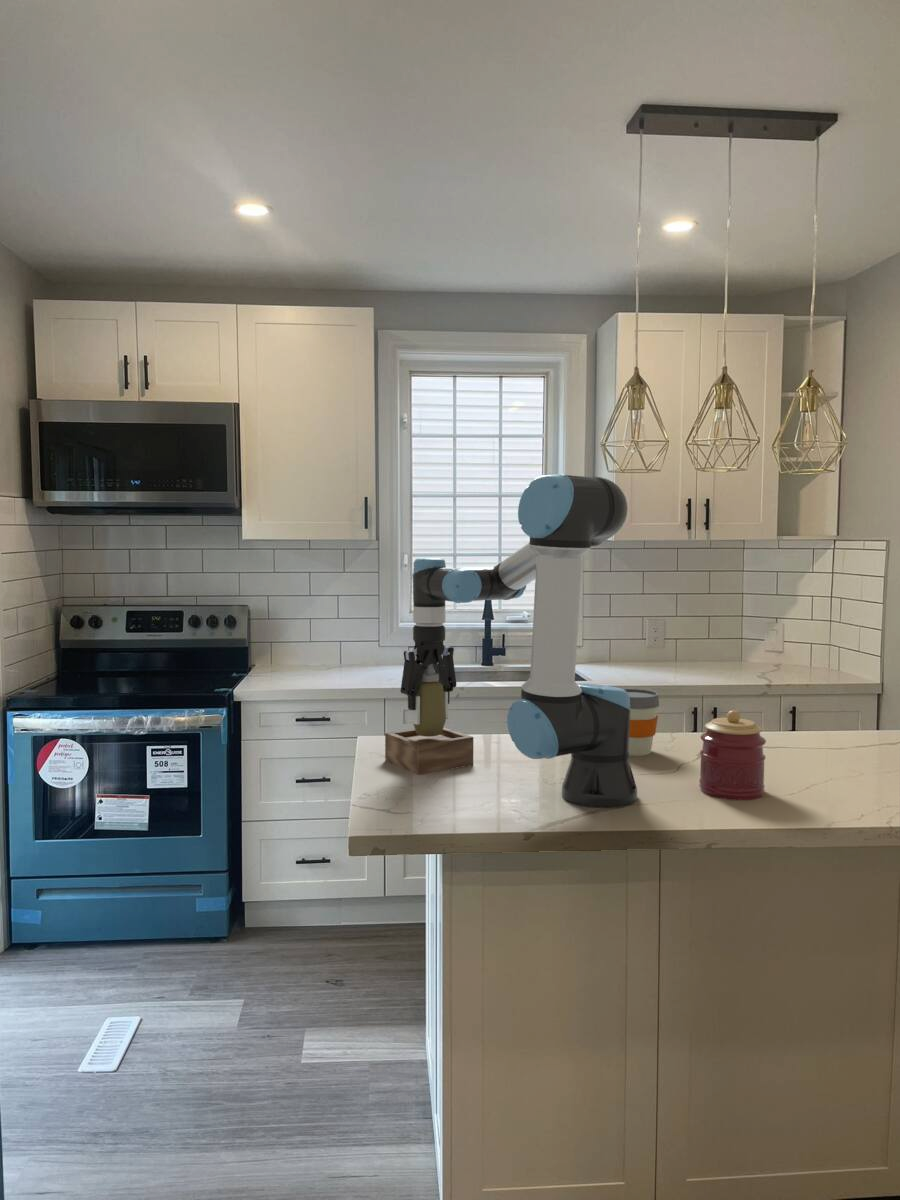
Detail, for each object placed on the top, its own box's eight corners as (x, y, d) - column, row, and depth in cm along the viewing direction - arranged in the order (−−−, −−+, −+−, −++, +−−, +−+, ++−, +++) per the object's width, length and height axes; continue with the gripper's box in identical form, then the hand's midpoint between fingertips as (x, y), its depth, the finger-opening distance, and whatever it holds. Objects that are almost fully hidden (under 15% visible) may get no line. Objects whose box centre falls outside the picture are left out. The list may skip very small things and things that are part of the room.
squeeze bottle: (445, 738, 201) (445, 660, 200) (410, 738, 201) (410, 660, 200) (446, 730, 209) (446, 656, 208) (412, 730, 209) (412, 655, 208)
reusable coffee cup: (595, 751, 218) (596, 691, 217) (630, 744, 225) (631, 686, 224) (633, 761, 208) (635, 699, 207) (668, 754, 215) (670, 694, 214)
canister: (775, 794, 182) (777, 710, 181) (746, 807, 173) (749, 719, 172) (717, 781, 191) (719, 702, 190) (687, 794, 182) (689, 710, 181)
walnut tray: (473, 767, 203) (473, 736, 203) (418, 777, 195) (418, 745, 195) (438, 754, 216) (438, 725, 215) (385, 762, 207) (385, 733, 207)
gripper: (451, 620, 213) (450, 712, 215) (383, 626, 199) (384, 724, 200) (472, 622, 207) (472, 717, 209) (405, 628, 193) (405, 730, 195)
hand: (429, 720), depth 205 cm, fingers closed on squeeze bottle, 8 cm apart
